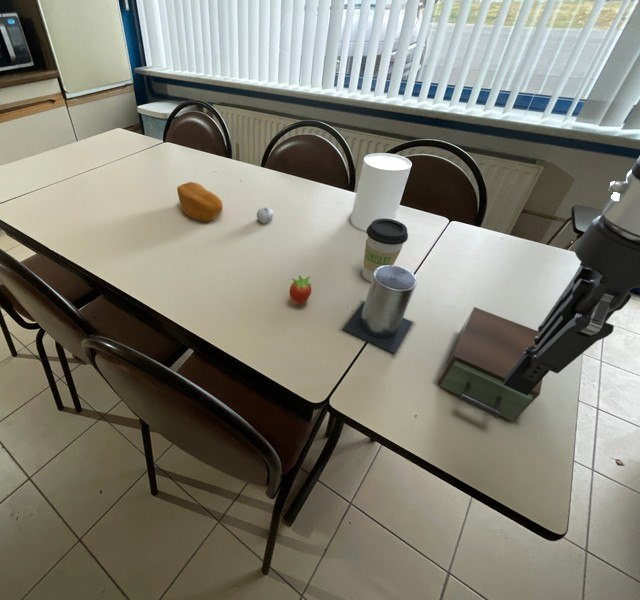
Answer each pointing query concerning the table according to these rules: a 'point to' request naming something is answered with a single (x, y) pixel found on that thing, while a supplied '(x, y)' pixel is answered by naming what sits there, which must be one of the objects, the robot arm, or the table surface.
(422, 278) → the table surface
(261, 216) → the garlic
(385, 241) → the coffee cup
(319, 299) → the table surface
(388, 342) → the mat
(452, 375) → the drawer
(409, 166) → the canister
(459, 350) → the cabinet
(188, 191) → the bread
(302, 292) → the fruit
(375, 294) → the silver cylinder
